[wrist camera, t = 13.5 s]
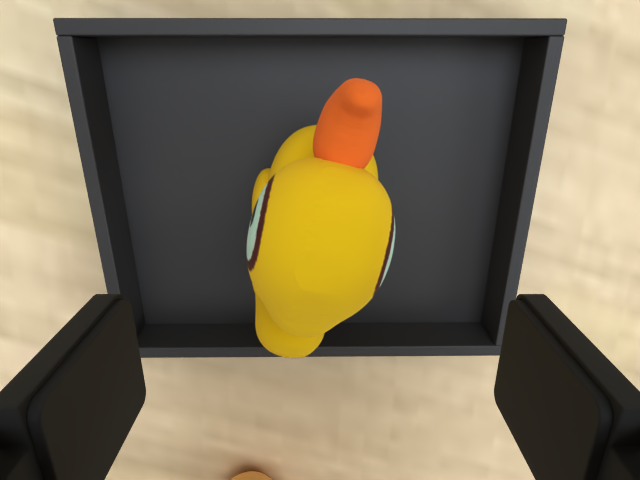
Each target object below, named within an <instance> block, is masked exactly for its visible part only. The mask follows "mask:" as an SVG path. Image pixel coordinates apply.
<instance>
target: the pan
mask: <svg viewBox="0 0 640 480" xmlns="http://www.w3.org/2000/svg"><path fill="white" fill-rule="evenodd" d="M53 21H54V26H55V31H56V35H58V36H57V41H58V46H59V51H60V57H61V62H62V67H63V72H64V77H65V82H66V87H67V92H68V97H69V102H70V107H71V112H72V117H73V122H74V127H75V132H76V137H77V142H78V147H79V152H80V157H81V162H82V167H83V172H84V177H85V182H86V187H87V192H88V197H89V202H90V207H91V212H92V217H93V222H94V227H95V232H96V237H97V242H98V247H99V252H100V257H101V262H102V267H103V272H104V277H105V282H106V287H107V292H108V294H121V295H122V296H123V298H124V300H129V301H130V303H131V306H132V311H133V317H134V323H135V328H136V334H137V340H138V346H139V352H140V358H159V357H282V356H279V355H276V354H274V353H272V352H270V351H268V350H267V349H266V348H265V347H264V346H263V345H262V344H261V342H260V340H259V339H258V336H257V333H256V326H255V315H256V299H255V292H254V288H253V284H252V280H251V277H250V274H249V270H248V264H247V237H248V231H249V226H250V221H251V217H252V195H253V189H254V185H255V182H256V179H257V177H258V175H259V174H260V172H261V171H262V170H264V169H267V168H271V166H272V163H273V161H274V158H275V156H276V154H277V152H278V150H279V149H280V147H281V146H282V144H283V143H284V142H285V141H286V140H287V138H288V137H290V136H291V135H292V134H293V133H294V132H296V131H298V130H299V129H301V128H304V127H307V126H311V125H317V123H318V120H319V117H320V115H321V112H322V110H323V108H324V106H325V104H326V102H327V101H328V99H329V98H330V96H331V95H332V94H333V93H334V92H335V90H336V89H337V88H338V87H340V86H341V85H342V84H343V83H344V82H345V81H347V80H349V79H352V78H360V79H365V80H368V81H371V82H373V83H374V84H376V85H377V86H378V88H379V89H380V91H381V94H382V116H381V126H380V131H379V135H378V140H377V143H376V147H375V150H374V153H373V155H374V158H375V161H376V165H377V170H378V180H379V182H380V183H381V184H382V186H383V187H384V188H385V190H386V192H387V194H388V196H389V198H390V201H391V204H392V207H393V211H394V218H395V242H394V249H393V254H392V258H391V262H390V265H389V268H388V271H387V273H386V276H385V278H384V280H383V282H382V284H381V286H380V287H379V289H378V291H377V292H376V293H375V295H374V296H373V297H372V299H371V300H370V301H369V302H368V303H367V304H366V305H365V306H364V307H363V308H362V309H360V310H359V311H358V312H357V313H355V314H354V315H352V316H351V317H349V318H347V319H345V320H344V321H342V322H340V323H339V324H337V325H336V326H334V327H333V328H331V329H330V330H328V331H327V332H325V334H324V337H323V339H322V341H321V343H320V344H319V346H318V347H317V348H316V349H315V350H314V351H313V352H312V353H310V354H309V355H307V356H305V357H322V356H485V355H500V352H501V346H502V340H503V334H504V328H505V323H506V317H507V311H508V306H509V303H510V301H511V300H516V295H517V290H518V284H519V279H520V273H521V268H522V263H523V257H524V252H525V246H526V241H527V236H528V230H529V225H530V219H531V214H532V209H533V203H534V198H535V192H536V187H537V182H538V176H539V171H540V165H541V160H542V155H543V149H544V144H545V138H546V133H547V127H548V122H549V117H550V111H551V106H552V100H553V95H554V90H555V84H556V79H557V73H558V68H559V63H560V57H561V52H562V46H563V41H564V36H563V35H564V34H565V29H566V24H567V19H565V18H54V19H53Z"/></svg>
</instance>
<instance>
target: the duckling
mask: <svg viewBox="0 0 640 480" xmlns="http://www.w3.org/2000/svg"><path fill="white" fill-rule="evenodd" d="M381 116H382V94H381V91H380V89H379V88H378V86H377V85H376V84H374V83H373V82H371V81H368V80H365V79H360V78H352V79H349V80H347V81H345V82H344V83H343V84H342V85H341V86H340V87H338V88H337V89H336V90H335V92H334V93H333V94H332V95H331V96H330V98H329V99H328V101H327V102H326V104H325V106H324V108H323V110H322V112H321V115H320V117H319V120H318V123H317V125H311V126H307V127H304V128H301V129H299V130H298V131H296V132H294V133H293V134H292V135H291V136H290V137H288V138H287V140H286V141H285V142H284V143H283V144H282V146H281V147H280V149H279V150H278V152H277V154H276V156H275V158H274V161H273V163H272V166H271V168H267V169H264V170H262V171H261V172H260V174H259V175H258V177H257V179H256V182H255V185H254V189H253V195H252V217H251V221H250V226H249V231H248V237H247V264H248V270H249V274H250V277H251V280H252V284H253V288H254V292H255V299H256V315H255V326H256V333H257V336H258V339H259V340H260V342H261V344H262V345H263V346H264V347H265V348H266V349H267V350H268V351H270V352H272V353H274V354H276V355H279V356H282V357H287V358H302V357H305V356H307V355H309V354H310V353H312V352H313V351H314V350H315V349H316V348H317V347H318V346H319V344H320V343H321V341H322V339H323V337H324V334H325V332H327V331H328V330H330V329H331V328H333V327H334V326H336V325H337V324H339V323H340V322H342V321H344V320H345V319H347V318H349V317H351V316H352V315H354V314H355V313H357V312H358V311H359V310H360V309H362V308H363V307H364V306H365V305H366V304H367V303H368V302H369V301H370V300H371V299H372V297H373V296H374V295H375V293H376V292H377V291H378V289H379V287H380V286H381V284H382V282H383V280H384V278H385V276H386V273H387V271H388V268H389V265H390V262H391V258H392V254H393V249H394V242H395V218H394V211H393V207H392V204H391V201H390V198H389V196H388V194H387V192H386V190H385V188H384V187H383V186H382V184H381V183H380V182H379V180H378V170H377V165H376V161H375V158H374V155H373V153H374V150H375V147H376V143H377V140H378V135H379V131H380V126H381Z"/></svg>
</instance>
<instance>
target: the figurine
mask: <svg viewBox="0 0 640 480" xmlns="http://www.w3.org/2000/svg"><path fill="white" fill-rule="evenodd" d="M231 480H272V479H271V478H270V477H268V476H267V475H265V474H263V473H260V472H256V471H248V472H243V473H240V474H238V475H236V476H235V477H233V478H232V479H231Z"/></svg>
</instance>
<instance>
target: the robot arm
mask: <svg viewBox="0 0 640 480" xmlns="http://www.w3.org/2000/svg"><path fill="white" fill-rule="evenodd" d="M145 396H146V387H145V381H144V375H143V370H142V364H141V358H140V352H139V346H138V340H137V334H136V328H135V323H134V317H133V311H132V306H131V303H130V301H129V300H124V298H123V296H122V295H121V294H96V295H94V296H93V297H92V298H91V299H90V300H89V301H88V302H87V303H86V304H85V305H84V306H83V307H82V308H81V309H80V310H79V311H78V313H77V314H76V315H75V316H74V317H73V318H72V319H71V320H70V321H69V322H68V323H67V324H66V325H65V326H64V327H63V328H62V329H61V330H60V331H59V332H58V333H57V334H56V335H55V336H54V337H53V338H52V339H51V340H50V341H49V342H48V343H47V344H46V345H45V346H44V347H43V348H42V349H41V350H40V351H39V353H38V354H37V355H36V356H35V357H34V358H33V359H32V360H31V361H30V362H29V363H28V364H27V365H26V366H25V367H24V368H23V369H22V370H21V371H20V372H19V373H18V374H17V375H16V376H15V377H14V378H13V379H12V380H11V381H10V382H9V383H8V384H7V385H6V386H5V387H4V388H3V389H2V390H1V391H0V480H104V479H105V478H106V476H107V474H108V472H109V470H110V468H111V466H112V464H113V462H114V460H115V458H116V456H117V454H118V452H119V451H120V449H121V447H122V445H123V443H124V441H125V439H126V437H127V435H128V433H129V431H130V429H131V427H132V425H133V424H134V422H135V420H136V418H137V416H138V414H139V412H140V410H141V408H142V406H143V404H144V401H145ZM494 396H495V401H496V404H497V406H498V408H499V410H500V412H501V414H502V416H503V418H504V420H505V422H506V424H507V425H508V427H509V429H510V431H511V433H512V435H513V437H514V439H515V441H516V443H517V445H518V447H519V449H520V451H521V452H522V454H523V456H524V458H525V460H526V462H527V464H528V466H529V468H530V470H531V472H532V474H533V476H534V478H535V479H536V480H640V391H639V390H638V389H637V388H636V387H635V386H634V385H633V384H632V383H631V382H630V381H629V380H628V379H627V378H626V377H625V376H624V375H623V374H622V373H621V372H620V371H619V370H618V369H617V368H616V367H615V366H614V365H613V364H612V363H611V362H610V361H609V360H608V359H607V358H606V357H605V356H604V355H603V354H602V353H601V351H600V350H599V349H598V348H597V347H596V346H595V345H594V344H593V343H592V342H591V341H590V340H589V339H588V338H587V337H586V336H585V335H584V334H583V333H582V332H581V331H580V330H579V329H578V328H577V327H576V326H575V325H574V324H573V323H572V322H571V321H570V320H569V319H568V318H567V317H566V316H565V315H564V314H563V313H562V311H561V310H560V309H559V308H558V307H557V306H556V305H555V304H554V303H553V302H552V301H551V300H550V299H549V298H548V297H547V296H546V295H544V294H519V295H518V296H517V298H516V300H511V301H510V303H509V306H508V311H507V317H506V323H505V328H504V334H503V340H502V346H501V352H500V358H499V364H498V370H497V375H496V381H495V387H494Z"/></svg>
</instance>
